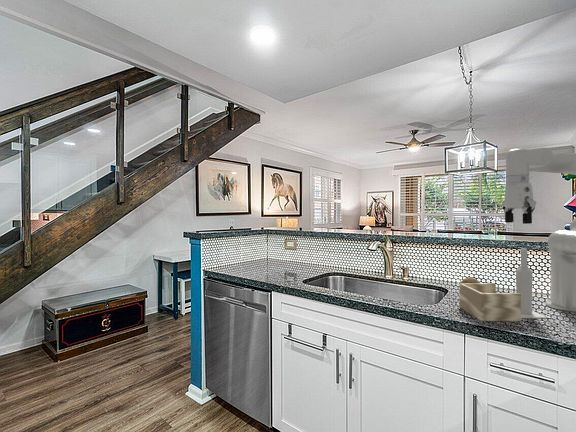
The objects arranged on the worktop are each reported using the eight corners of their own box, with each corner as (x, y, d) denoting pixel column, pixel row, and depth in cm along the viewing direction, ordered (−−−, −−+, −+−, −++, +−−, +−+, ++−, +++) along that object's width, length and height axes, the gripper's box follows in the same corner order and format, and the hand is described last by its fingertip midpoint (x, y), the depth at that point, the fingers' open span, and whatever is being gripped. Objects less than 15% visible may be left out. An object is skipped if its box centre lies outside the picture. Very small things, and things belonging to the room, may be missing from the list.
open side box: (494, 307, 131) (494, 283, 131) (520, 321, 115) (520, 293, 115) (459, 307, 131) (459, 283, 131) (481, 321, 115) (481, 293, 115)
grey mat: (527, 309, 127) (527, 308, 127) (547, 318, 117) (547, 317, 117) (502, 309, 128) (502, 308, 128) (519, 318, 118) (519, 317, 118)
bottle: (513, 310, 126) (513, 247, 125) (529, 310, 124) (528, 247, 123) (519, 314, 121) (519, 249, 120) (535, 315, 119) (535, 249, 118)
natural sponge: (464, 295, 148) (464, 274, 148) (485, 299, 142) (485, 277, 141) (456, 299, 142) (456, 277, 142) (478, 303, 136) (478, 280, 135)
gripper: (544, 178, 118) (544, 223, 118) (511, 181, 135) (511, 221, 136) (524, 178, 118) (525, 224, 118) (493, 182, 135) (494, 222, 135)
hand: (517, 222), depth 127 cm, fingers open, 9 cm apart
